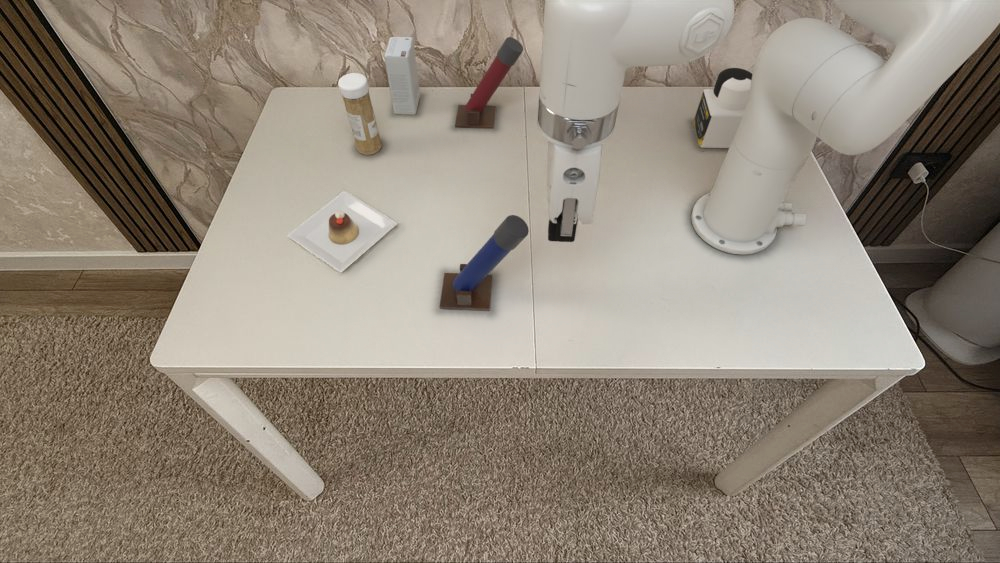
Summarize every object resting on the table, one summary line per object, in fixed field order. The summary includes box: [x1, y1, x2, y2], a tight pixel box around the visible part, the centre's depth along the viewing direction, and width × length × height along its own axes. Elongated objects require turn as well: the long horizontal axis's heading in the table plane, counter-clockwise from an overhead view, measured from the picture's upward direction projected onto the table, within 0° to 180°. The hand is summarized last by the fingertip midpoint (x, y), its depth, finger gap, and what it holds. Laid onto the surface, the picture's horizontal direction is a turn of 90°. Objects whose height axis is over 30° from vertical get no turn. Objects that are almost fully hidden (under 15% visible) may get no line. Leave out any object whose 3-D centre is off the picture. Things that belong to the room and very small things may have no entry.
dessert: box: [286, 190, 398, 274], centre depth 84 cm, size 12×12×5 cm
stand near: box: [439, 263, 494, 312], centre depth 78 cm, size 7×6×3 cm
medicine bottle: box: [692, 67, 753, 149], centre depth 94 cm, size 7×7×12 cm
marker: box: [453, 214, 530, 292], centre depth 73 cm, size 3×3×15 cm
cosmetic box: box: [384, 36, 421, 116], centre depth 100 cm, size 6×4×12 cm
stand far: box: [454, 93, 497, 130], centre depth 101 cm, size 7×6×3 cm
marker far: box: [465, 36, 524, 114], centre depth 96 cm, size 3×3×15 cm
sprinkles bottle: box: [337, 72, 383, 156], centre depth 92 cm, size 5×5×14 cm
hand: (560, 236), depth 68 cm, fingers closed
